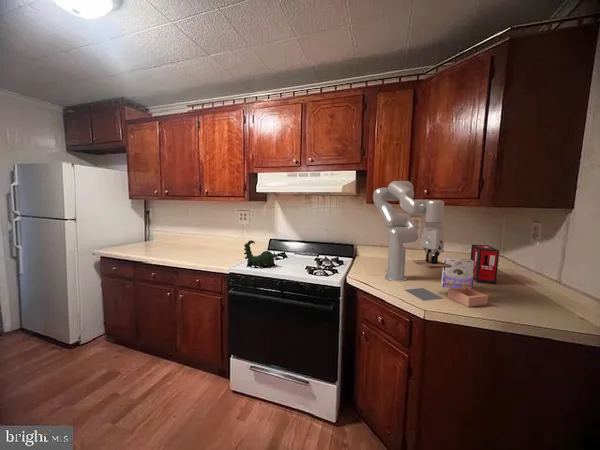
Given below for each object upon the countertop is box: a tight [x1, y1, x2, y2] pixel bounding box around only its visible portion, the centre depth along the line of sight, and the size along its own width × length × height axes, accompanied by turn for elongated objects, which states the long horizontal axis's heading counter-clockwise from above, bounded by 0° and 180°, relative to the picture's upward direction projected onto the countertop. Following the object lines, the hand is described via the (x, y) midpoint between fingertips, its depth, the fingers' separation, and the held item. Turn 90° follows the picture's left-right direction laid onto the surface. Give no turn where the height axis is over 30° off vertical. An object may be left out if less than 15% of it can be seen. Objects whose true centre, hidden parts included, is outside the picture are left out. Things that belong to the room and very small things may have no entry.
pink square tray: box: [447, 287, 489, 308], centre depth 114 cm, size 11×11×5 cm
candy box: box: [440, 256, 475, 290], centre depth 131 cm, size 14×6×16 cm, turn 66°
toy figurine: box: [243, 240, 277, 268], centre depth 170 cm, size 9×19×25 cm
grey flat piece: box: [404, 287, 445, 302], centre depth 122 cm, size 14×12×1 cm
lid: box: [412, 251, 452, 270], centre depth 119 cm, size 12×12×6 cm
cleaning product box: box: [469, 244, 500, 285], centre depth 147 cm, size 16×9×20 cm, turn 159°
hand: (431, 262), depth 119 cm, fingers closed on lid, 2 cm apart
